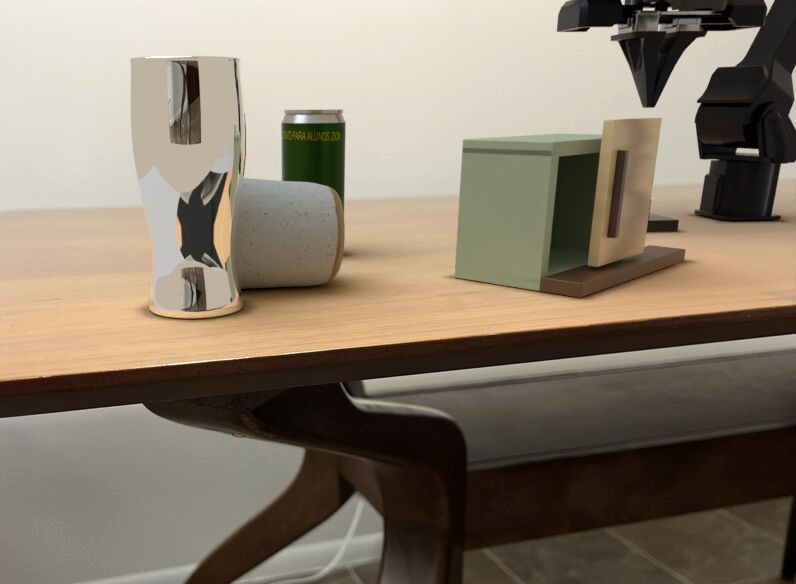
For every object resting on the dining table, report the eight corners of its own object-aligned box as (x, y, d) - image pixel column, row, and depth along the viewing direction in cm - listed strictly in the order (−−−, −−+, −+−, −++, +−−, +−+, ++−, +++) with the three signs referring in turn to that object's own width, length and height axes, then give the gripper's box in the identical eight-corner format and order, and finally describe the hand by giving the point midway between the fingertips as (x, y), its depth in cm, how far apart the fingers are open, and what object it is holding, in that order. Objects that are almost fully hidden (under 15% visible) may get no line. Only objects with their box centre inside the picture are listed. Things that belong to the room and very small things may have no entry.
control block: (642, 222, 89) (646, 194, 88) (677, 231, 82) (681, 201, 81) (553, 224, 88) (556, 195, 87) (581, 233, 81) (585, 203, 80)
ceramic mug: (349, 293, 56) (350, 178, 54) (231, 299, 54) (227, 181, 52) (314, 268, 66) (314, 170, 64) (213, 272, 64) (210, 172, 62)
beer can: (356, 254, 71) (359, 109, 67) (309, 261, 68) (310, 110, 64) (315, 246, 75) (316, 109, 71) (270, 253, 72) (268, 110, 68)
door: (633, 251, 64) (651, 118, 61) (651, 253, 63) (670, 118, 60) (587, 265, 58) (603, 119, 55) (605, 268, 58) (623, 120, 54)
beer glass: (229, 324, 49) (221, 54, 44) (123, 317, 50) (104, 57, 46) (263, 298, 55) (259, 60, 50) (168, 293, 57) (155, 62, 52)
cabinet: (569, 247, 74) (582, 132, 70) (684, 261, 67) (703, 134, 64) (454, 277, 61) (462, 139, 58) (580, 298, 55) (597, 142, 51)
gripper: (616, -84, 69) (595, 109, 74) (822, -83, 71) (788, 106, 76) (562, -60, 80) (547, 108, 85) (743, -59, 81) (718, 106, 86)
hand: (648, 107), depth 83 cm, fingers closed
